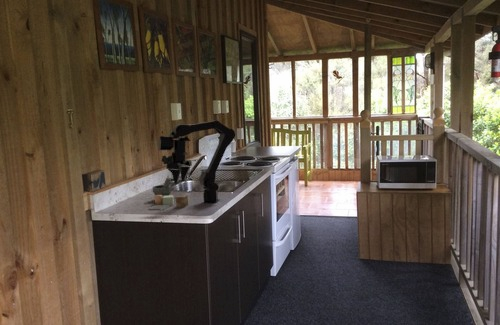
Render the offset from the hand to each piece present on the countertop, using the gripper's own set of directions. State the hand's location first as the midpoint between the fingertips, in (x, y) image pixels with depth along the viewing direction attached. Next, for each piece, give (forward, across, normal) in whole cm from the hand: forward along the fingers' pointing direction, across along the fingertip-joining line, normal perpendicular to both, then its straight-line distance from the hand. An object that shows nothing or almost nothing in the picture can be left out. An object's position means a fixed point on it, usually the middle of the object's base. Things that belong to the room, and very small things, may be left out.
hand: (179, 181), depth 221 cm
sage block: (+12, -5, -8) cm, 15 cm away
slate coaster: (+13, +4, -8) cm, 16 cm away
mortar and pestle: (+12, -15, -15) cm, 25 cm away
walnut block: (+12, 0, +2) cm, 12 cm away
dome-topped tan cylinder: (+13, -4, -12) cm, 18 cm away
